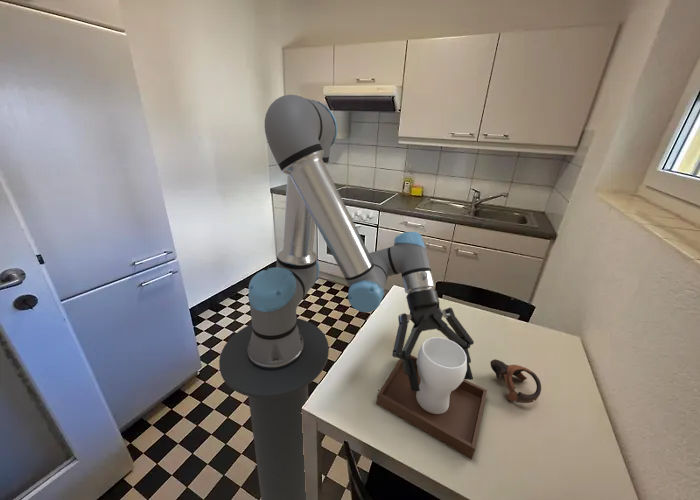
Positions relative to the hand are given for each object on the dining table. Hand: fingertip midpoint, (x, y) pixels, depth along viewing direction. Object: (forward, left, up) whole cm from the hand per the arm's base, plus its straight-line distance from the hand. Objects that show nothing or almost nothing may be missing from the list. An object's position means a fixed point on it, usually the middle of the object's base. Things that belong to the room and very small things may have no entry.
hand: (442, 384), depth 62 cm
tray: (-2, +2, -8) cm, 8 cm away
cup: (-2, +2, -8) cm, 8 cm away
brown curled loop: (+14, +18, -8) cm, 24 cm away
